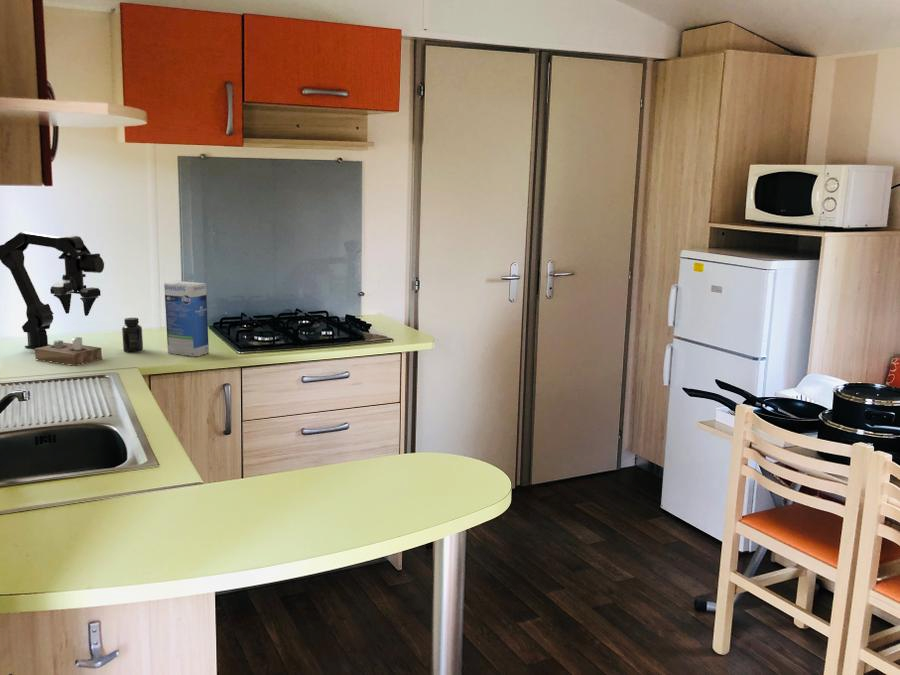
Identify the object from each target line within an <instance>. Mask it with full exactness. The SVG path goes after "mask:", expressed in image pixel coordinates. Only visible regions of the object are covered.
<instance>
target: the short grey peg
mask: <svg viewBox="0 0 900 675" xmlns="http://www.w3.org/2000/svg"><path fill="white" fill-rule="evenodd" d="M63 342H64V340H60V339H59V340H54V341H53V345H54V348H57V349H59V348H63Z"/></svg>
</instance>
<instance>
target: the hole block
mask: <svg viewBox="0 0 900 675" xmlns="http://www.w3.org/2000/svg"><path fill="white" fill-rule="evenodd" d="M82 346H83V350H82V351H73V343H69V342H64V341H63V348H59V349H57V348H54V344H50V345H49V346H45V347H40V348H36V349H34V355H35V360H36V359H38V360H37V361H39V360H45V361H44V362H46V361H52V362H58V363H57V364H59V363H64V364H63V365H65V364H71V365H70V366H72V365H76V366H79V365H78V364H80V365H83V364H82V363H84V364H87V363H86V362H88V363H91V362H90V361H92V362H95V361H94V360H96V361H98V360H97V359H100V360H102V359H103V356H102V354H103V353H102V347H99V346H98V347H97V346H92V345H83V344H82ZM101 358H102V359H101ZM52 362H51V363H52Z"/></svg>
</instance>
